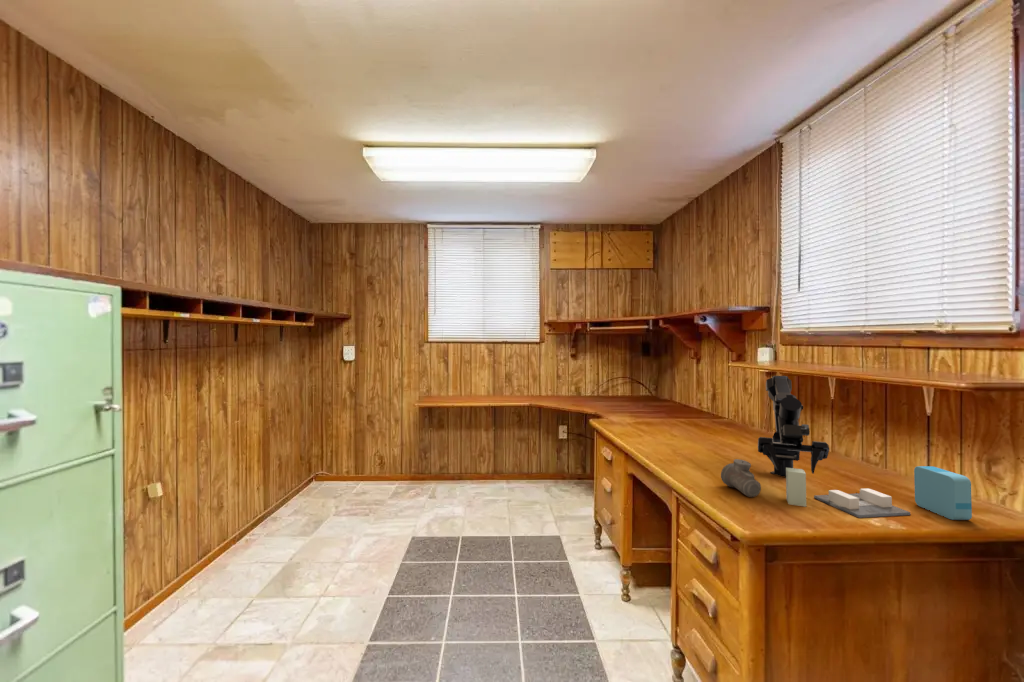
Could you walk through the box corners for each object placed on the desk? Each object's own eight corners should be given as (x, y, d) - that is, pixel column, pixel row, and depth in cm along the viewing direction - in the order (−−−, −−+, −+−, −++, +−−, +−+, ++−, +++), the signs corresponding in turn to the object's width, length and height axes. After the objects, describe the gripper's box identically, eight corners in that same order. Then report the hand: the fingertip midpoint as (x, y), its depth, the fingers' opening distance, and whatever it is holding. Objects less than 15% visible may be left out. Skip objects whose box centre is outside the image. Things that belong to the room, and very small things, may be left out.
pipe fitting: (718, 484, 141) (722, 455, 140) (740, 485, 142) (744, 457, 141) (739, 501, 129) (743, 470, 128) (763, 502, 130) (768, 471, 129)
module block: (786, 499, 128) (785, 467, 128) (803, 501, 126) (803, 469, 126) (788, 504, 124) (787, 471, 124) (806, 506, 122) (805, 473, 122)
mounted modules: (849, 509, 118) (849, 498, 118) (828, 500, 125) (828, 490, 125) (891, 506, 119) (891, 496, 119) (868, 498, 126) (868, 488, 126)
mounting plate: (858, 517, 114) (858, 514, 114) (814, 498, 129) (814, 495, 129) (910, 515, 115) (910, 512, 115) (860, 495, 130) (860, 493, 130)
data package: (972, 522, 110) (971, 477, 111) (954, 521, 111) (953, 477, 111) (930, 504, 122) (929, 464, 123) (914, 504, 123) (913, 464, 123)
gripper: (757, 412, 136) (760, 453, 126) (827, 416, 127) (836, 460, 117) (756, 431, 142) (759, 472, 132) (822, 436, 134) (831, 480, 124)
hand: (794, 471), depth 126 cm, fingers open, 9 cm apart
